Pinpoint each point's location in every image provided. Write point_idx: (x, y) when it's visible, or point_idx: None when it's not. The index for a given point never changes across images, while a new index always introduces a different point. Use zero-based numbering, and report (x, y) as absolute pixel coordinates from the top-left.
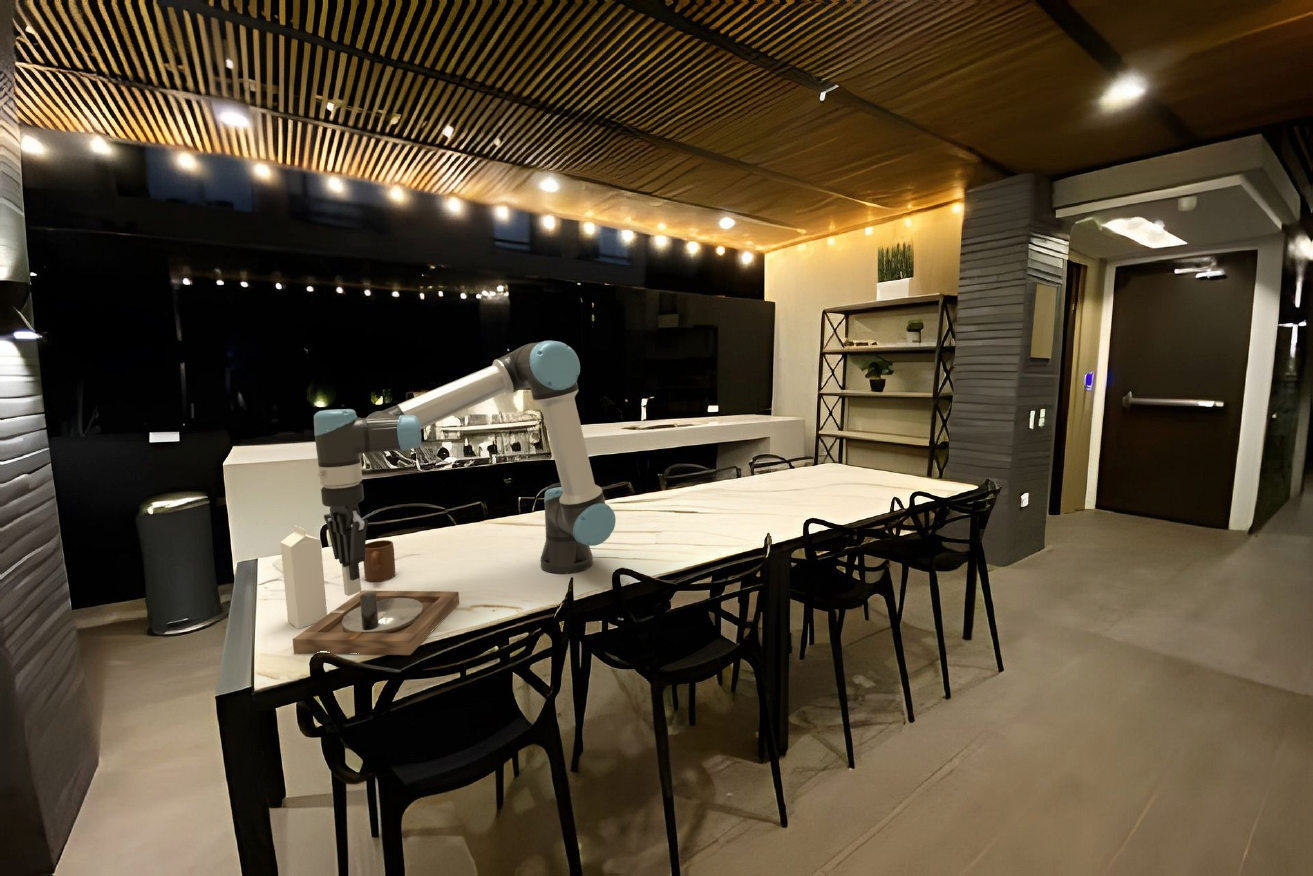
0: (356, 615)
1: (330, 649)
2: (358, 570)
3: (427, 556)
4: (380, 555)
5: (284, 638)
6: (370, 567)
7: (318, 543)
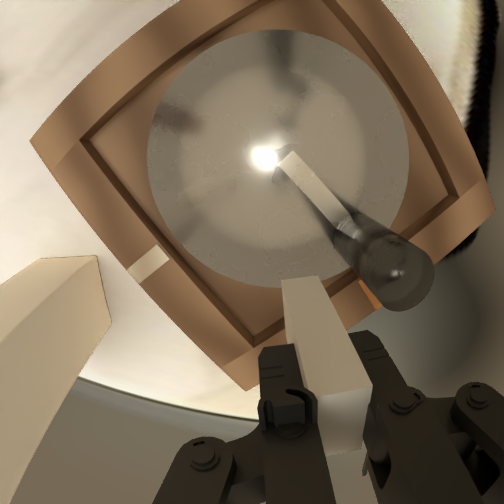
0: (225, 231)
1: None
2: (391, 364)
3: None
4: None
5: (143, 356)
6: None
7: None
